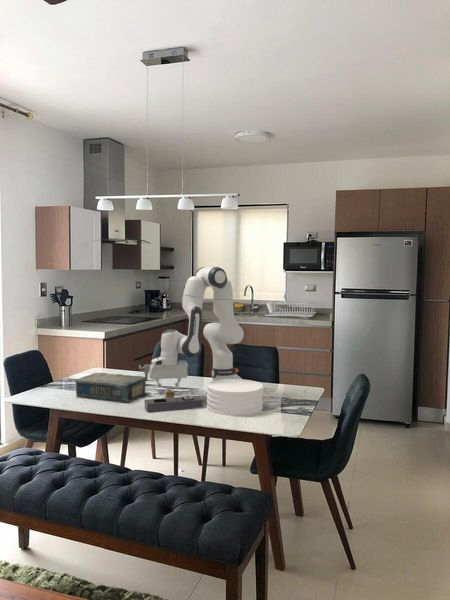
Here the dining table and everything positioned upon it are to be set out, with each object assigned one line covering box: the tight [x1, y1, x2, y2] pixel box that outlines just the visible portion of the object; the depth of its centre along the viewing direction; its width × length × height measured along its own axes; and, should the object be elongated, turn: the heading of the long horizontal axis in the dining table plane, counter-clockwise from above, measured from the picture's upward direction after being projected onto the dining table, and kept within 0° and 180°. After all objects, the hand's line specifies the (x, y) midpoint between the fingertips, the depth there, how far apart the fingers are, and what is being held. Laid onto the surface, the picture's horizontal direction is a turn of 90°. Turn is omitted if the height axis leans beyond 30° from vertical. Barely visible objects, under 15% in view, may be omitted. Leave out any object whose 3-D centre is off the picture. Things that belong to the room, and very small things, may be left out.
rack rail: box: [144, 395, 204, 413], centre depth 243 cm, size 28×8×4 cm, turn 109°
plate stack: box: [206, 378, 264, 417], centre depth 244 cm, size 28×28×12 cm
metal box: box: [74, 372, 147, 404], centre depth 264 cm, size 21×32×10 cm, turn 70°
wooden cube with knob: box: [163, 389, 176, 398], centre depth 257 cm, size 4×4×5 cm
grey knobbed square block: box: [181, 395, 193, 401], centre depth 245 cm, size 4×4×5 cm
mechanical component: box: [137, 363, 152, 382], centre depth 300 cm, size 3×10×10 cm, turn 107°
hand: (168, 386), depth 256 cm, fingers open, 8 cm apart
